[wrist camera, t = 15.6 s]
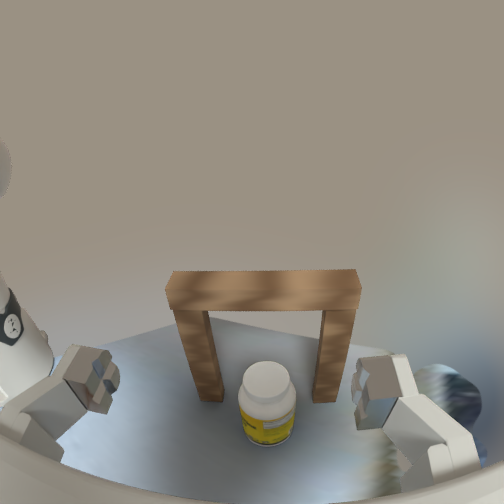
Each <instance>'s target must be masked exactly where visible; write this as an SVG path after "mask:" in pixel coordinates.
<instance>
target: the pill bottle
mask: <svg viewBox="0 0 504 504" xmlns="http://www.w3.org/2000/svg"><path fill="white" fill-rule="evenodd" d="M238 402H239V407H240V412H241V417H242V423H243V428H244V432H245V434H246V436H247V437H248V439H249V440H250V441H252V442H253V443H255V444H257V445H259V446H264V447H271V446H276V445H279V444H281V443H283V442H284V441H286V440H287V439H288V438H289V436H290V435H291V433H292V430H293V426H294V417H295V407H296V390H295V387H294V385H293V383H292V382H291V381H290V375H289V373H288V371H287V369H286V368H285V367H284V366H282V365H281V364H279V363H276V362H273V361H261V362H257V363H255V364H253V365H251V366H250V367H249V368H248V369H247V370H246V371H245V373H244V375H243V383H242V385H241V387H240V389H239V393H238Z"/></svg>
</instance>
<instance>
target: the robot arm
mask: <svg viewBox="0 0 504 504" xmlns="http://www.w3.org/2000/svg"><path fill="white" fill-rule="evenodd" d="M11 169H12V165H11V157H10V154H9V151H8V148H7V146H6V145H5V143H4V142H3V140H2V139H1V138H0V198H1V197H2V196H4V195H5V193H6V191H7V189H8V186H9V183H10V179H11V171H12V170H11ZM111 359H112V356H111V354H110V352H109V351H108V350H102V349H97V348H91V347H86V346H80V345H74V344H72V345H71V346H69V347H68V349H67V350H66V352H65V354H64V355H63V357H62V359H61V360H60V362H59V363H58V365H57V367H56V369H55V370H54V372H53V374H52V375H51V376H48V375H49V373H50V371H51V369H52V365H53V353H52V350H51V348H50V347H49V345H48V336H47V334H46V333H45V331H40V330H39V329H38V328H37V326H36V325H35V323H34V322H33V320H32V319H31V317H30V315H29V314H28V312H27V311H26V310H25V309H24V308H21V307H20V306H19V304H18V301H17V298H16V296H15V295H14V294H13V292H12V290H11V289H10V288H8V287H7V285H6V283H5V280H4V278H3V276H2V274H1V272H0V407H3V406H4V407H3V409H2V411H1V412H0V504H230V503H220V502H211V501H203V500H196V499H189V498H183V497H177V496H172V495H166V494H161V493H157V492H152V491H148V490H143V489H139V488H135V487H131V486H128V485H124V484H120V483H117V482H113V481H110V480H107V479H104V478H100V477H97V476H94V475H91V474H88V473H86V472H83V471H80V470H77V469H75V468H72V467H69V466H67V465H64V464H62V463H60V462H61V459H62V456H63V454H64V449H63V448H62V447H61V446H60V445H59V444H58V443H57V442H56V440H57V439H58V438H59V437H60V436H61V435H63V434H64V433H65V432H66V431H67V430H68V429H69V428H70V427H71V426H73V425H74V424H75V423H76V422H77V421H78V420H79V419H80V418H81V417H82V416H84V415H85V414H86V413H87V412H88V411H92V412H97V413H101V414H106V415H107V413H108V410H109V408H110V406H111V403H112V401H113V399H112V396H111V394H112V393H114V392H115V391H117V389H118V386H119V383H120V373H119V369H118V367H117V366H116V365H115V364H114V363H113V362H112V361H111ZM356 369H357V372H356V373H355V374H353V378H352V385H351V393H352V401H353V403H355V404H356V405H357V407H356V410H355V412H354V415H355V421H356V428H357V430H366V429H376V428H382V430H383V431H384V432H385V433H386V435H387V436H388V437H389V438H390V439H391V440H392V442H393V443H394V444H395V445H396V446H397V447H398V449H399V450H400V451H401V452H402V453H403V454H404V456H405V457H406V458H407V459H408V460H409V461H410V463H411V464H412V465H413V466H412V467H411V468H410V469H409V470H408V471H407V472H406V473H405V474H404V475H403V476H402V477H401V478H400V483H401V490H402V493H399V494H394V495H389V496H384V497H378V498H372V499H365V500H358V501H350V502H341V503H331V504H504V460H503V461H500V462H498V463H495V464H493V465H491V466H488V467H486V468H483V469H482V468H481V465H480V461H479V457H478V454H477V450H476V447H475V444H474V441H473V437H472V434H471V433H469V432H468V431H467V430H466V429H465V428H463V427H462V426H461V425H460V424H459V423H458V422H456V421H455V420H454V419H453V418H452V417H450V416H449V415H448V414H447V413H446V412H444V411H443V410H442V409H441V408H440V407H438V406H437V405H436V404H435V403H434V402H432V401H431V400H430V399H429V398H428V397H427V396H425V395H424V394H419V392H418V389H417V386H416V383H415V380H414V377H413V374H412V372H411V368H410V365H409V362H408V360H407V357H406V355H405V354H399V355H389V356H388V355H386V356H376V357H365V358H359V359H358V360H357V363H356ZM87 410H88V411H87Z"/></svg>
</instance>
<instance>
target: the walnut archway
mask: <svg viewBox="0 0 504 504" xmlns="http://www.w3.org/2000/svg"><path fill="white" fill-rule="evenodd" d="M361 289H362V287H361V284H360V281H359V278H358V275H357V272H356V270H355V269H351V270H350V269H348V270H299V271H298V270H297V271H296V270H294V271H173V273H172V276H171V278H170V280H169V282H168V284H167V286H166V288H165V291H166V295H167V299H168V302H169V306H170V309H171V310H173V312H174V316H175V320H176V323H177V327H178V330H179V334H180V337H181V340H182V344H183V347H184V350H185V354H186V357H187V360H188V363H189V367H190V370H191V373H192V376H193V379H194V382H195V385H196V388H197V391H198V394H199V397H200V400H201V401H214V402H223V396H224V386H223V382H222V377H221V373H220V368H219V364H218V359H217V354H216V349H215V345H214V340H213V335H212V330H211V325H210V320H209V315H208V311H311V310H312V311H314V310H323V312H322V321H321V330H320V339H319V347H318V355H317V363H316V370H315V377H314V384H313V391H312V392H313V403H326V402H336V398H337V394H338V391H339V387H340V383H341V379H342V375H343V370H344V366H345V362H346V357H347V353H348V349H349V344H350V339H351V334H352V329H353V324H354V319H355V314H356V309H358V306H359V301H360V295H361Z"/></svg>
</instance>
